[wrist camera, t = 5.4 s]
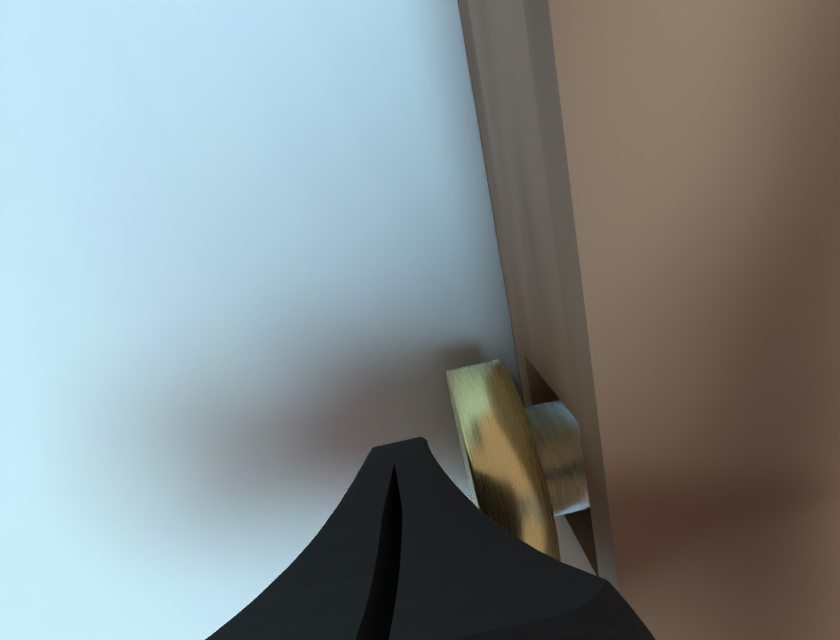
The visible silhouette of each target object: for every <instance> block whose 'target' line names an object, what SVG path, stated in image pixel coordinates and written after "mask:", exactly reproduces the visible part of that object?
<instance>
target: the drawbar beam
mask: <svg viewBox="0 0 840 640" xmlns="http://www.w3.org/2000/svg"><path fill="white" fill-rule="evenodd" d="M458 5H459V11H460V17H461V23H462V29H463V35H464V41H465V47H466V53H467V59H468V65H469V71H470V77H471V83H472V89H473V95H474V101H475V107H476V113H477V119H478V126H479V132H480V138H481V144H482V150H483V156H484V162H485V168H486V174H487V180H488V186H489V192H490V198H491V204H492V210H493V216H494V222H495V228H496V234H497V240H498V246H499V252H500V259H501V265H502V271H503V277H504V283H505V289H506V295H507V301H508V307H509V313H510V319H511V325H512V331H513V337H514V343H515V349H516V355H517V361H518V367H519V373H520V379H521V385H522V391H523V398H524V404H525V407H528V406H533V405H537V404H542V403H546V402H551V401H555V400H561V402H562V403H563V404H564V405H565V407H566V408H567V409H568V410H569V412H570V413H571V414H572V415H573V417H574V418H575V419H576V420H577V422H578V423H579V429H580V437H581V444H582V452H583V459H584V467H585V474H586V482H587V489H588V497H589V504H590V509H585V510H581V511H576V512H572V513H567V514H563V515H559V516H554V518H555V523H556V528H557V534H558V540H559V548H560V557H561V562H563V563H565V564H568V565H570V566H573V567H575V568H578V569H581V570H583V571H586V572H588V573H591V574H593V575H596V576H598V577H601V578H603V579H606V580H607V581H609V582H610V583H611V584H612V585H613V586H614V587H615V589H616V590H617V591H618V592H619V593H620V594H621V596H622V597H623V598H624V599H625V600H626V601H627V603H628V604H629V605H630V606H631V607H632V609H633V610H634V611H635V613H636V614H637V615H638V616H639V618H640V619H641V620H642V621H643V623H644V624H645V625H646V627H647V628H648V630H649V631H650V632H651V634H652V635H653V636H654V638H655V639H656V640H840V0H458Z"/></svg>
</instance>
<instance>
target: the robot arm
mask: <svg viewBox="0 0 840 640" xmlns="http://www.w3.org/2000/svg"><path fill="white" fill-rule="evenodd" d="M205 640H656V639H655V638H654V636H653V635H652V634H651V632H650V631H649V630H648V628H647V627H646V625H645V624H644V623H643V621H642V620H641V619H640V618H639V616H638V615H637V614H636V613H635V611H634V610H633V609H632V607H631V606H630V605H629V604H628V603H627V601H626V600H625V599H624V598H623V597H622V596H621V594H620V593H619V592H618V591H617V590H616V589H615V587H614V586H613V585H612V584H611V583H610V582H609V581H607V580H606V579H603V578H601V577H598V576H596V575H593V574H591V573H588V572H586V571H583V570H581V569H578V568H575V567H573V566H570V565H568V564H565V563H563V562H561V561H558V560H556V559H554V558H552V557H550V556H548V555H546V554H544V553H542V552H540V551H538V550H537V549H535V548H534V547H532V546H530V545H529V544H527V543H525V542H524V541H522V540H521V539H519V538H517V537H516V536H514V535H512V534H511V533H509V532H508V531H507V530H505V529H504V528H503V527H501V526H500V525H499V524H497V523H496V522H494V521H493V520H492V519H491V518H490V517H488V516H487V515H486V514H485V513H483V512H482V511H481V510H480V509H479V508H478V507H477V506H476V505H474V504H473V503H472V502H471V501H470V500H469V499H468V498H467V497H466V496H465V495H464V494H463V493H462V492H461V491H460V490H459V488H458V487H457V486H456V485H455V484H454V483H453V482H452V481H451V479H450V478H449V477H448V476H447V474H446V473H445V472H444V471H443V469H442V468H441V467H440V465H439V464H438V462H437V461H436V459H435V458H434V456H433V455H432V453H431V451H430V449H429V447H428V444H427V440H425V439H424V438H422V437H418V438H413V439H409V440H405V441H400V442H396V443H391V444H387V445H382V446H378V447H373V448H372V450H371V451H370V453H369V455H368V456H367V458H366V460H365V462H364V463H363V465H362V467H361V469H360V470H359V472H358V474H357V476H356V477H355V479H354V481H353V483H352V484H351V486H350V487H349V489H348V491H347V492H346V494H345V495H344V497H343V499H342V500H341V502H340V503H339V505H338V506H337V508H336V509H335V511H334V512H333V513H332V515H331V516H330V518H329V519H328V520H327V522H326V523H325V525H324V526H323V527H322V529H321V530H320V531H319V533H318V534H317V535H316V536H315V537H314V539H313V540H312V541H311V542H310V544H309V545H308V546H307V547H306V548H305V549H304V550H303V551H302V553H301V554H300V555H299V556H298V557H297V558H296V559H295V560H294V561H293V563H292V564H291V565H290V566H289V567H288V568H287V569H286V570H285V571H284V572H283V573H282V574H280V575H279V576H278V577H277V578H276V579H275V580H274V581H273V582H272V583H271V584H270V585H269V586H268V587H267V588H266V589H265V590H264V591H263V592H262V593H261V594H260V595H259V596H258V597H257V598H256V599H254V600H253V601H252V602H251V603H250V604H249V605H247V606H246V607H245V608H244V609H243V610H242V611H240V612H239V613H238V614H237V615H236V616H235V617H233V618H232V619H231V620H230V621H228V622H227V623H226V624H225V625H223V626H222V627H221V628H220V629H218V630H217V631H216V632H215V633H213V634H212V635H211V636H209V637H208V638H207V639H205Z"/></svg>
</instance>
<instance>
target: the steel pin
mask: <svg viewBox="0 0 840 640" xmlns="http://www.w3.org/2000/svg"><path fill="white" fill-rule="evenodd" d="M446 375H447V382H448V388H449V393H450V399H451V404H452V409H453V414H454V419H455V423H456V428H457V433H458V437H459V442H460V446H461V451H462V455H463V460H464V464H465V469H466V473H467V477H468V482H469V486H470V490H471V494H472V499H473V503H474V505H476V506H477V507H478V508H479V509H480V510H481V511H482V512H483V513H485V514H486V515H487V516H488V517H490V518H491V519H492V520H493V521H494V522H496V523H497V524H499V525H500V526H501V527H503V528H504V529H505V530H507V531H508V532H509V533H511V534H512V535H514V536H516V537H517V538H519V539H521V540H522V541H524V542H525V543H527V544H529V545H530V546H532V547H534V548H535V549H537V550H538V551H540V552H542V553H544V554H546V555H548V556H550V557H552V558H554V559H556V560H558V561H561V557H560V548H559V540H558V534H557V528H556V523H555V518H554V516H559V515H563V514H567V513H572V512H576V511H581V510H585V509H590V504H589V497H588V489H587V482H586V474H585V467H584V459H583V452H582V444H581V437H580V429H579V423H578V422H577V420H576V419H575V418H574V417H573V415H572V414H571V413H570V412H569V410H568V409H567V408H566V407H565V405H564V404H563V403H562V402H561V400H555V401H551V402H546V403H542V404H537V405H533V406H528V407H523V404H522V401H521V399H520V396H519V394H518V391H517V389H516V387H515V384H514V382H513V380H512V378H511V376H510V374H509V372H508V370H507V368H506V367H505V365H504V364H503V363H502V362H501V361H500V360H498V359H497V360H492V361H488V362H483V363H479V364H474V365H470V366H465V367H461V368H456V369H452V370H447V371H446Z"/></svg>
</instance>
